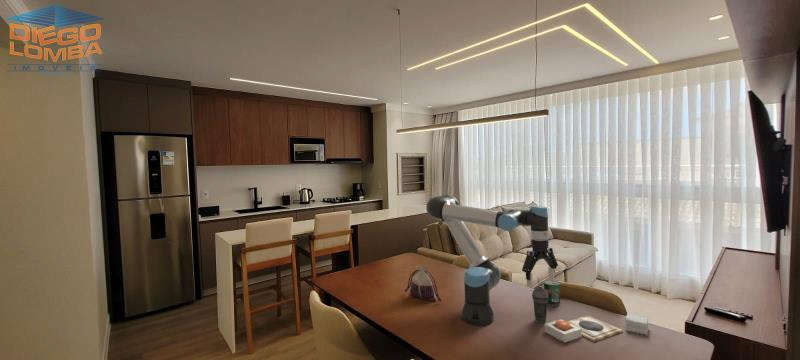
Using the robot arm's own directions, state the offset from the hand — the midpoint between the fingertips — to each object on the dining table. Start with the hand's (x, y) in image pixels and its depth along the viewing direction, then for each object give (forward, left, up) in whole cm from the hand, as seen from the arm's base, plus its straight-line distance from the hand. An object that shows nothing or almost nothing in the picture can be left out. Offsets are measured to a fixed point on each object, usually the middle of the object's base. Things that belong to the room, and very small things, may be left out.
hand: (540, 284), depth 155 cm
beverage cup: (0, 0, -18) cm, 18 cm away
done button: (-2, -14, -14) cm, 20 cm away
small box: (+30, -25, -18) cm, 43 cm away
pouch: (-37, +49, -18) cm, 64 cm away
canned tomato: (+21, +12, -18) cm, 30 cm away
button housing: (-2, -14, -17) cm, 22 cm away
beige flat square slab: (+13, -16, -17) cm, 27 cm away
